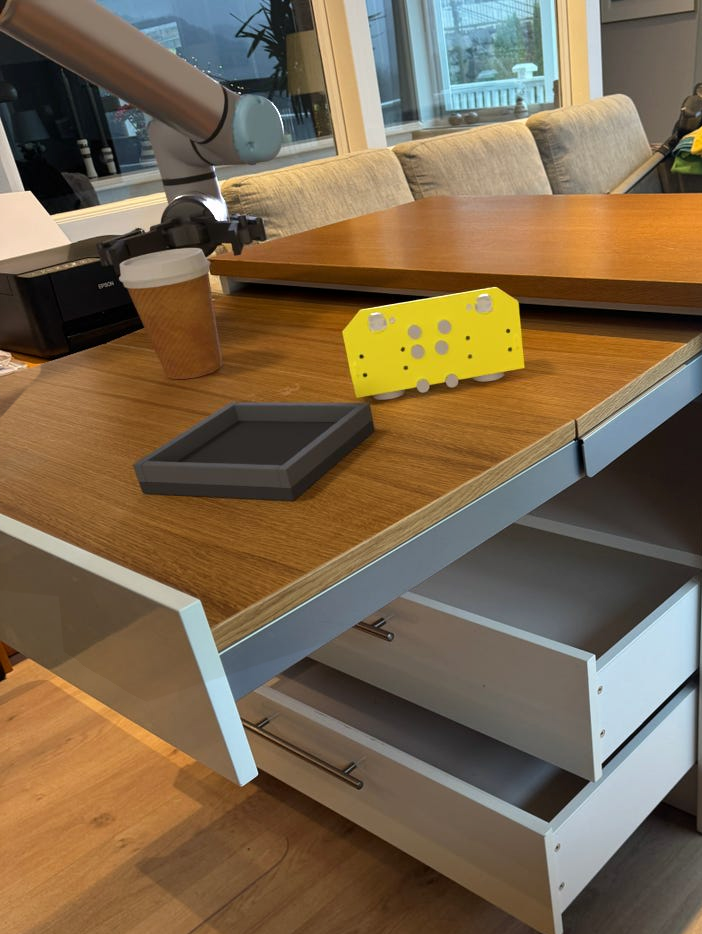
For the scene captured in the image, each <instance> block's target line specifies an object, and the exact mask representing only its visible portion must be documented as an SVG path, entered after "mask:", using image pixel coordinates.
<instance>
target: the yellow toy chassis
mask: <svg viewBox="0 0 702 934" xmlns="http://www.w3.org/2000/svg"><path fill="white" fill-rule="evenodd" d="M520 315H521V314H520V304H519V300H517V299H515V298H514V297H512V296H511V295H509V294H508V293H506V292H505V291H504V290H502V289H500V288H499V287H497V286H493V287H486V288H481V289H476V290H470V291H464V292H458V293H451V294H446V295H445V294H444V295H442V296H441V295H439V296H435V297H428V298H422V299H416V300H411V301H404V302H398V303H393V304H387V305H380V306H374V307H369V308H363V309H359V310H358V312H357V313H356V314H355V316H354V317H353V318H352V319H351V320H350V321H349V323H348V324H347V325H346V326H345V328H344V329H343V330H342V331H341V332H342V338H343V342H344V347H345V353H346V357H347V363H348V367H349V373H350V377H351V382H352V384H353V390H354V394H355V398H356V399H359V398H364V397H371V396H372V398H373V399H374V400H379V401H383V400H392V399H395V398H399V397H401V396H403V395H405V392H406V390H408V389H414V388H416V390H417V391H418V392H420V393H422V394H423V393H427V392H428V391H429V389H430V386H432V385H436V384H442V383H443V384H444V383H445V384H446V386H447V387H448V388H455V387H457V386H458V384H459V380H465V379H471V378H472V380H473V381H476V382H492V381H497V380H500V379H502V378H504V377H505V375H506V374H505V372H509V371H515V370H521V369H525V357H524V347H523V337H522V336H523V335H522V326H521V316H520Z"/></svg>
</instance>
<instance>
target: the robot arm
mask: <svg viewBox="0 0 702 934" xmlns="http://www.w3.org/2000/svg"><path fill="white" fill-rule="evenodd" d="M0 32H1V33H4V34H5V35H7V36H9V37H11V38H12V39H14V40H16V41H18V42H20V43H21V44H23V45H24V46H26V47H28V48H30V49H32V50H34V51H35V52H37V53H39V54H40V55H43V56H44V57H46V58H47V59H49V60H50V61H53V62H55V63H56V64H58V65H60V66H61V67H63V68H65V69H67V70H68V71H70V72H72V73H74V74H76V75H77V76H79V77H81V78H83V79H84V80H86V81H88V82H90V83H91V84H92V85H95V86H96V87H99V88H100V89H102V90H103V91H105V92H107V93H109V94H111V95H112V96H114V97H116V98H117V99H120V100H121V101H123V102H125V103H126V104H128V105H130V106H131V107H133V108H135V109H136V110H139V111H141V112H142V114H143V115H142V116H143V118H144V122H145V125H144V127H145V131H146V133H147V136H148V139H149V141H150V145H151V148H152V151H153V155H154V158H155V161H156V164H157V167H158V171H159V173H160V178H161V182H162V188H163V191H164V194H165V198H166V201H167V204H168V205H166V207H165V208H164V210H163V212H162V214H161V217H160V223H157V224H154V225H151V226H150V227H149V230H148V231H145V229H144V228H141V227H135V229H132V230H131V231H129V232H126V233H124V234H121V235H117V236H115V237H111V238H110V239H106V240H103V241H98V242H96V243H95V244H94V245H95V248H96V251H97V254H98V257H99V260H100V263H101V266H102V267H110V266H113V269H114V273H115V275H116V276H118V275H121V272H120V263H122V262H124V261H126V260H129V259H131V258H134V257H138V256H142V255H146V254H151V253H155V252H161V251H167V250H174V249H183V248H199V249H202V251H203V253H204V255H205V257H206V258H208V257H210V256H211V255H212V254H213V253H214V252H215V251H216V250H217V248H218V247H219V246H222V245H223V244H226V245H227V244H230V245H231V248H232V252H233V256H234V257H236V256H241V255H242V253H243V249H244V245H246V246H247V245H248V246H249V245H251V244H253V243H254V241H256V242H261V243H262V242H265V241H267V240H268V236H267V231H266V228H265V227H266V226H265V223H264V218H263V217H260V216H258V217H257V216H250V215H247V214H246V213H244V214H240V213H236V212H233V213H231V214H229V210H228V207H227V206H228V205H227V203H226V201H225V200H224V198H223V195H222V193H221V188H220V184H219V181H218V177H217V176H218V175H217V172H216V168H215V167H221V166H242V165H243V166H244V165H248V166H255V165H257V164H260V163H261V164H262V163H267V162H270V161H271V160H274V159H276V157H277V156H278V155H279V153H280V151H281V150H282V147H283V143H284V138H285V137H284V134H285V133H284V131H285V129H284V124H283V120H282V117H281V114H280V112H279V110H278V108H277V107H276V106H275V105H274V103H273V102H271V100H269V99H268V98H267V97H264V96H263V95H256V94H255V95H253V94H250V93H246V94H242V95H239V94H238V93H235V92H234V91H232V90H231V89H229V88H227V87H226V86H224V85H223V84H221V83H219V82H218V81H217V80H215V79H214V78H212V77H211V76H209V75H208V74H206V73H204V72H203V71H202V70H200V69H198V68H197V67H195V66H194V65H193V64H191V63H189V62H188V61H187V60H185V59H183V58H182V57H181V56H179V55H177V54H176V53H174V52H173V51H171V50H170V49H168V48H167V47H166V46H163V45H162V44H161V43H159V42H158V41H156V40H155V39H153V38H152V37H150V36H149V35H147V34H146V33H144V31H141V30H139V29H138V28H136V27H135V26H134V25H132V24H130V23H129V22H128V21H126V20H124V19H123V18H121V17H120V16H119V15H118V14H116V13H114V12H113V11H111V10H109V9H108V8H106V7H105V6H103V5H102V4H100V3H99V2H97V1H95V0H0Z"/></svg>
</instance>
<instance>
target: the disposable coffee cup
mask: <svg viewBox="0 0 702 934" xmlns="http://www.w3.org/2000/svg"><path fill="white" fill-rule="evenodd" d="M210 266H211V261H210V260H209V259H207V257H205V255H204V253H203V251H202V249H199V248H183V249H174V250H167V251H161V252H155V253H151V254H146V255H142V256H138V257H134V258H131V259H129V260H126V261H124V262H122V263H120V272H121V274H120V276H119V277H118V280H119V282H121V283H122V284H123V287H124V288H126V289H127V292H128V294H129V296H130V298H131V301H132V303H133V305H134V308H135V309H136V311H137V314H138V316H139V318H140V321H141V323H142V325H143V327H144V329H145V332H146V334H147V337H148V338H149V341H150V343H151V345H152V347H153V349H154V352H155V354H156V356H157V358H158V360H159V363H160V365H161V367H162V369H163V372H164V374H165V376H166V378H167V379H173V380H187V379H192V378H193V379H194V378H199V377H202V376H206V375H209V374H212V373H214V372H216V371H217V370H219V369H221V368H222V367H223V359H222V352H221V345H220V341H219V334H218V327H217V320H216V313H215V308H214V301H213V293H212V287H211V282H210V274H209V273H210V271H211V269H210Z"/></svg>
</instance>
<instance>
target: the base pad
mask: <svg viewBox="0 0 702 934" xmlns="http://www.w3.org/2000/svg"><path fill="white" fill-rule="evenodd" d="M372 412H373V411H372V407H371V403H370V402H271V401H269V402H267V401H265V402H263V401H261V402H255V401H253V402H247V401H246V402H245V401H243V402H242V401H241V402H239V401H237V402H236V401H231V402H230V403H228V404H226V405H225V406H223V407H221V408H220V409H217V411H215V412H214V413H212V414H210V415H209V416H207V417H206V418H204V419H203V420H201V421H199V422H198V423H196V424H194V425H193V426H192V427H190V428H188V429H186V430H185V431H183V432H181V433H180V434H179V435H177V436H175V437H174V438H172V439H171V440H169V441H168V442H166V443H164V444H162V445H161V446H160V447H158V448H156V449H154V450H153V451H151V452H150V453H148V454H147V455H145V456H143V457H142V458H140V459H139V460H137V461H135V462H134V463H132V468H133V470H134V473H135V475H136V476H135V477H136V479H137V482H138V484H139V487H140V490H141V493H142V494H146V495H165V496H166V495H167V496H170V495H171V496H184V497H185V496H186V497H187V496H189V497H209V498H228V499H249V500H267V501H268V500H270V501H287V502H289V501H290V502H292V501H295V500H296V499H298V498H299V497H300V496H301V495H302V494H304V493H305V492H306V491H307V490H308V489H309V488H310V487H311V486H313V485H314V484H315V483H316V482H318V481H319V480H320V479H321V478H322V477H323V476H324V475H325V474H327V473H328V472H329V471H330V470H332V468H333V467H335V466H336V465H337V464H338V463H340V462H341V461H342V460H343V459H344V458H346V456H348V455H349V454H350V453H351V452H352V451H353V450H354V449H355V448H357V447H358V446H359V445H361V443H362V442H364V441H365V440H366V439H367V438H368V437H369V436H371V435H372V434H373V433H374V432H375V431H376V429H375V424H374V418H373V413H372Z"/></svg>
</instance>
